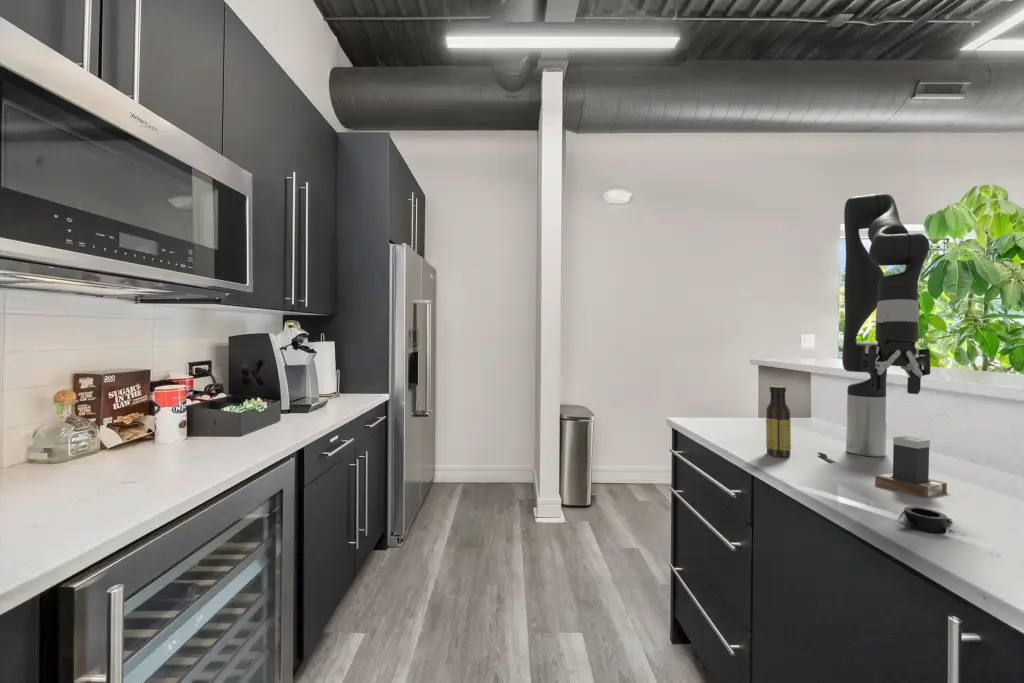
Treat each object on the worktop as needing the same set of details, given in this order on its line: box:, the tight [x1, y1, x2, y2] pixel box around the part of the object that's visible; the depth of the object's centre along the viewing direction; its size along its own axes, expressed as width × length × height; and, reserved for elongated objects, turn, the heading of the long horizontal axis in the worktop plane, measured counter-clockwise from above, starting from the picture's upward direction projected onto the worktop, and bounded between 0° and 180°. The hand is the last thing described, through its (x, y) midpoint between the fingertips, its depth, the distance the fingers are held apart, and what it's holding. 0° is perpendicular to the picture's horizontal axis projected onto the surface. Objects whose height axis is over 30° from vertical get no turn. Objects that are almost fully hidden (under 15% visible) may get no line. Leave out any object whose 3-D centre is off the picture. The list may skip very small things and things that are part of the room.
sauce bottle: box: [765, 385, 792, 458], centre depth 136 cm, size 6×6×20 cm
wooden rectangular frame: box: [874, 472, 948, 498], centre depth 104 cm, size 9×9×3 cm
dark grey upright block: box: [892, 435, 931, 484], centre depth 104 cm, size 5×5×11 cm
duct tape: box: [896, 506, 953, 535], centre depth 85 cm, size 8×10×3 cm
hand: (895, 392), depth 106 cm, fingers open, 8 cm apart
